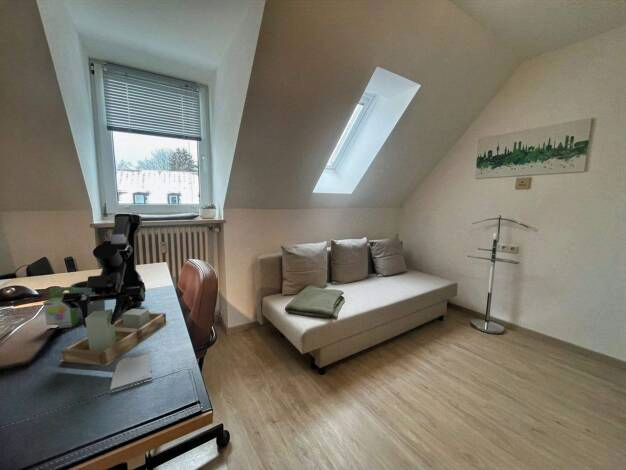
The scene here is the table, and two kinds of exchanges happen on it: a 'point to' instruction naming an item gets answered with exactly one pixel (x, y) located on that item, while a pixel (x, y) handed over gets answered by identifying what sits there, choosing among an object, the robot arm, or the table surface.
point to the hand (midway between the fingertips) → (99, 325)
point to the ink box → (59, 310)
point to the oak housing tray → (124, 342)
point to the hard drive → (130, 372)
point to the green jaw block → (100, 330)
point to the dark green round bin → (83, 287)
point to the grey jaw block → (135, 318)
